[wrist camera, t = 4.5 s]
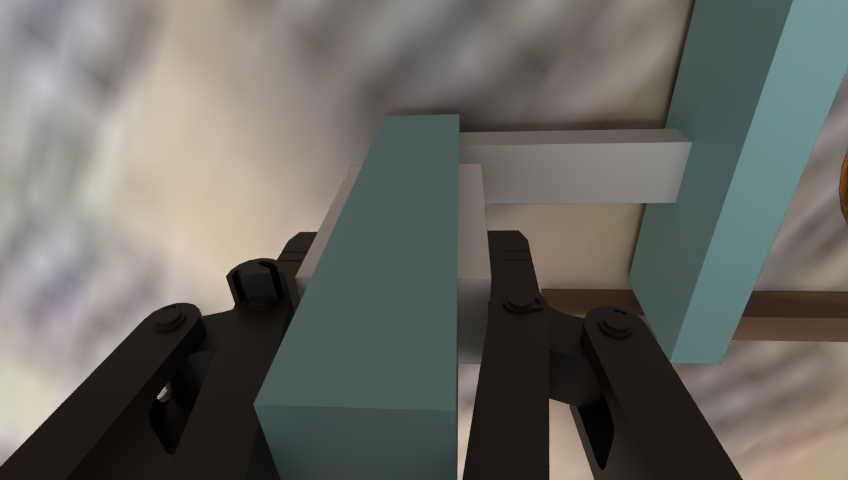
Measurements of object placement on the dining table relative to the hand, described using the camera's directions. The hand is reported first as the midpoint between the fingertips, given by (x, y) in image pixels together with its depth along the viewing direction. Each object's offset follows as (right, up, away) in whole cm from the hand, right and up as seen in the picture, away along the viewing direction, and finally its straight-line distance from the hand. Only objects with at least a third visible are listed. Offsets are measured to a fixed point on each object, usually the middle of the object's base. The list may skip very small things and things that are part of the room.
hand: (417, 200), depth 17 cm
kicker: (+6, +2, +3) cm, 7 cm away
